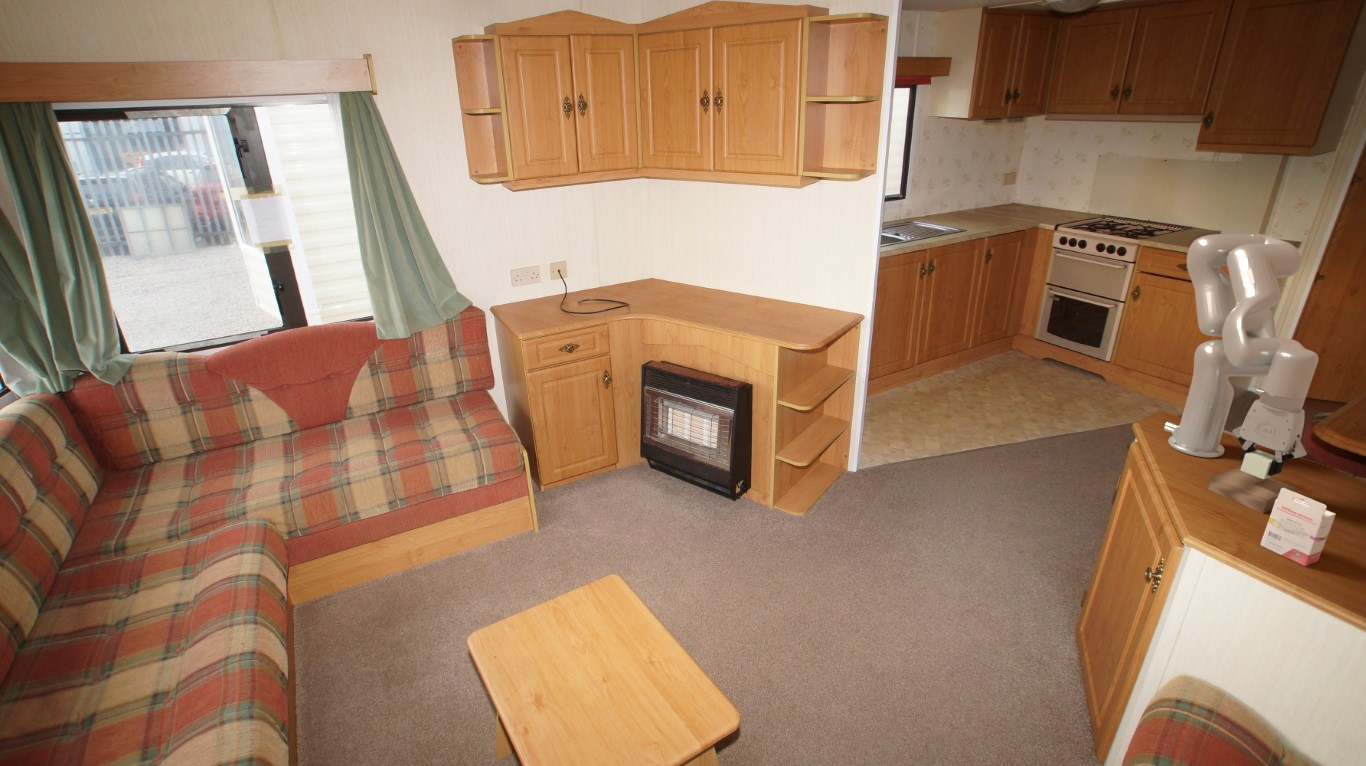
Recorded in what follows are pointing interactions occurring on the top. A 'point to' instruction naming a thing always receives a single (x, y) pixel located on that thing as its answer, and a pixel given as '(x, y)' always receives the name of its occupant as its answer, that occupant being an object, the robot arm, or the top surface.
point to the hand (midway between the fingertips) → (1259, 468)
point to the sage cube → (1257, 463)
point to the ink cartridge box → (1297, 527)
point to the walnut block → (1248, 489)
